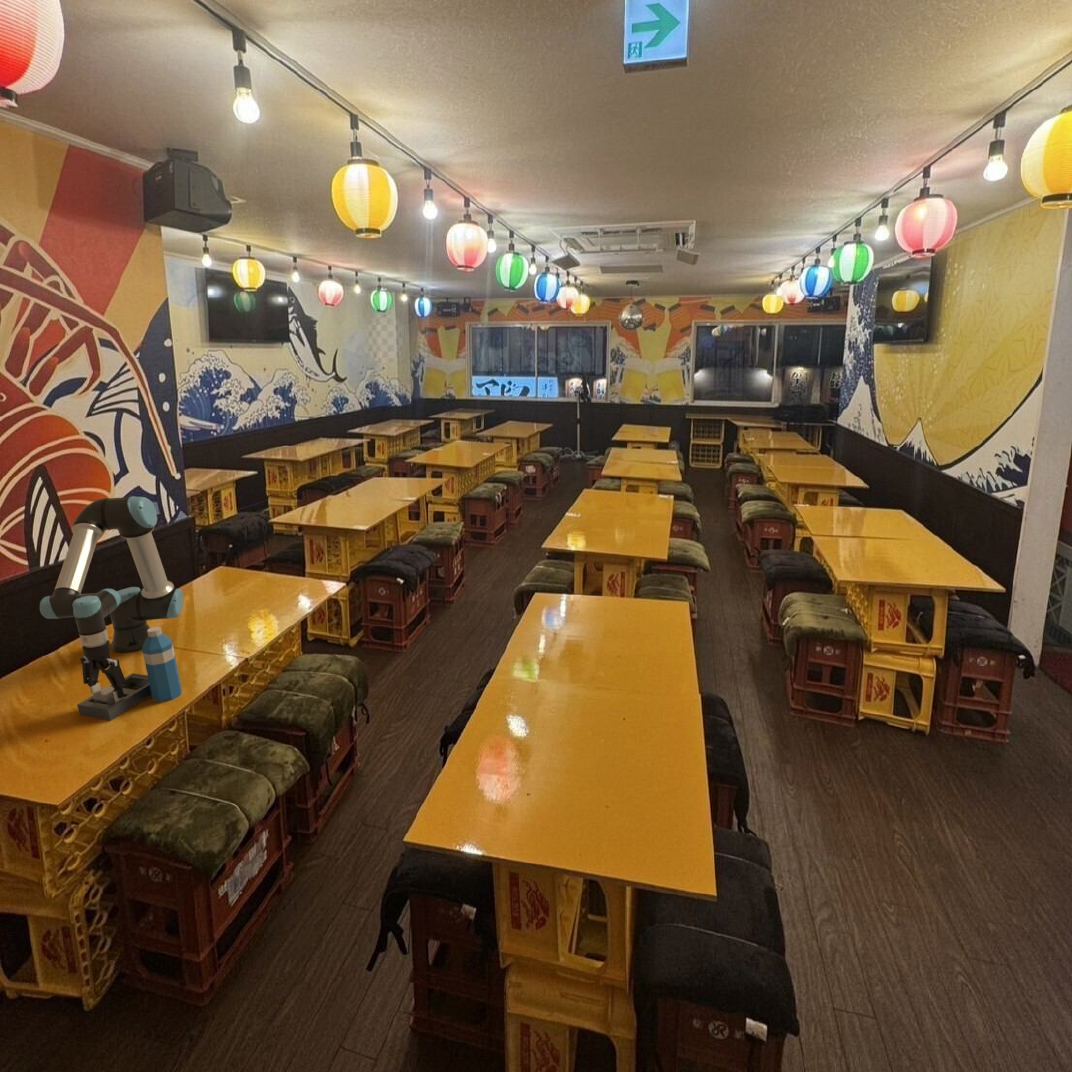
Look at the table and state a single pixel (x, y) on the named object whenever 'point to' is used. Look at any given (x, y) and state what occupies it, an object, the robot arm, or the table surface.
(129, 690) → the grey compartment tray
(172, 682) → the water bottle
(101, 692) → the brushed gray brick
